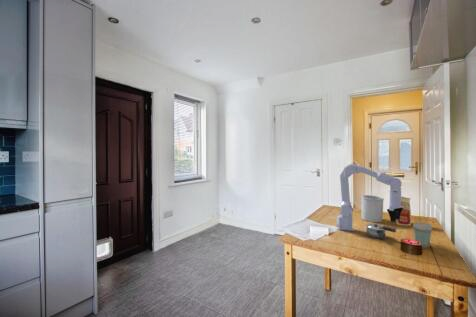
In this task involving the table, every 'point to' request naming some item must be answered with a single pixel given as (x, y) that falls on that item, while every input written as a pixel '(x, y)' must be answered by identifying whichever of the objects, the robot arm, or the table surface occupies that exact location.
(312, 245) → the table surface
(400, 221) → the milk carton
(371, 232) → the pot
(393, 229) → the lid
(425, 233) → the coffee cup
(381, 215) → the utensil holder
